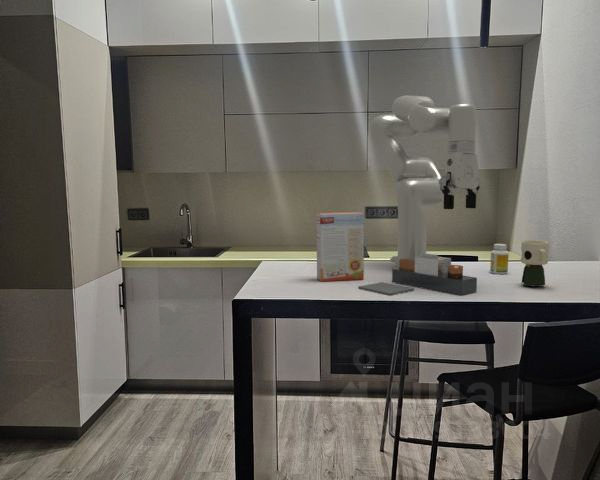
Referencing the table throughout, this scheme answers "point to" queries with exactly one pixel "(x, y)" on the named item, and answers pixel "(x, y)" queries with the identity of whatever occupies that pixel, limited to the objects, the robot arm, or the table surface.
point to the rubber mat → (386, 288)
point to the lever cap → (432, 265)
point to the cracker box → (340, 246)
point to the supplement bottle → (499, 259)
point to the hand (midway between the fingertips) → (459, 208)
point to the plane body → (435, 278)
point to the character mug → (534, 261)
